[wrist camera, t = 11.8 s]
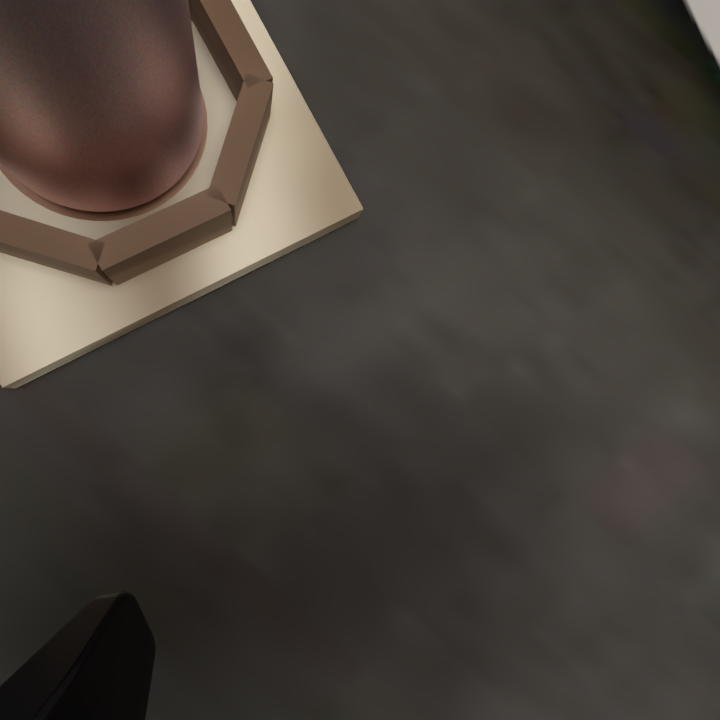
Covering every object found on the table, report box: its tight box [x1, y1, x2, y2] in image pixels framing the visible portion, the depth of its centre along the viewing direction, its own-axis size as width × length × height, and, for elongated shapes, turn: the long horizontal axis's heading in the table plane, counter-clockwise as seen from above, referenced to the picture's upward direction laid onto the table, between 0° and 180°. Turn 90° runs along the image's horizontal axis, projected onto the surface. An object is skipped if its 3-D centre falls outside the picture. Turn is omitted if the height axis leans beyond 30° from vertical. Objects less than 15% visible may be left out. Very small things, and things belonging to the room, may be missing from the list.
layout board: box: [0, 0, 363, 389], centre depth 17 cm, size 12×12×3 cm
